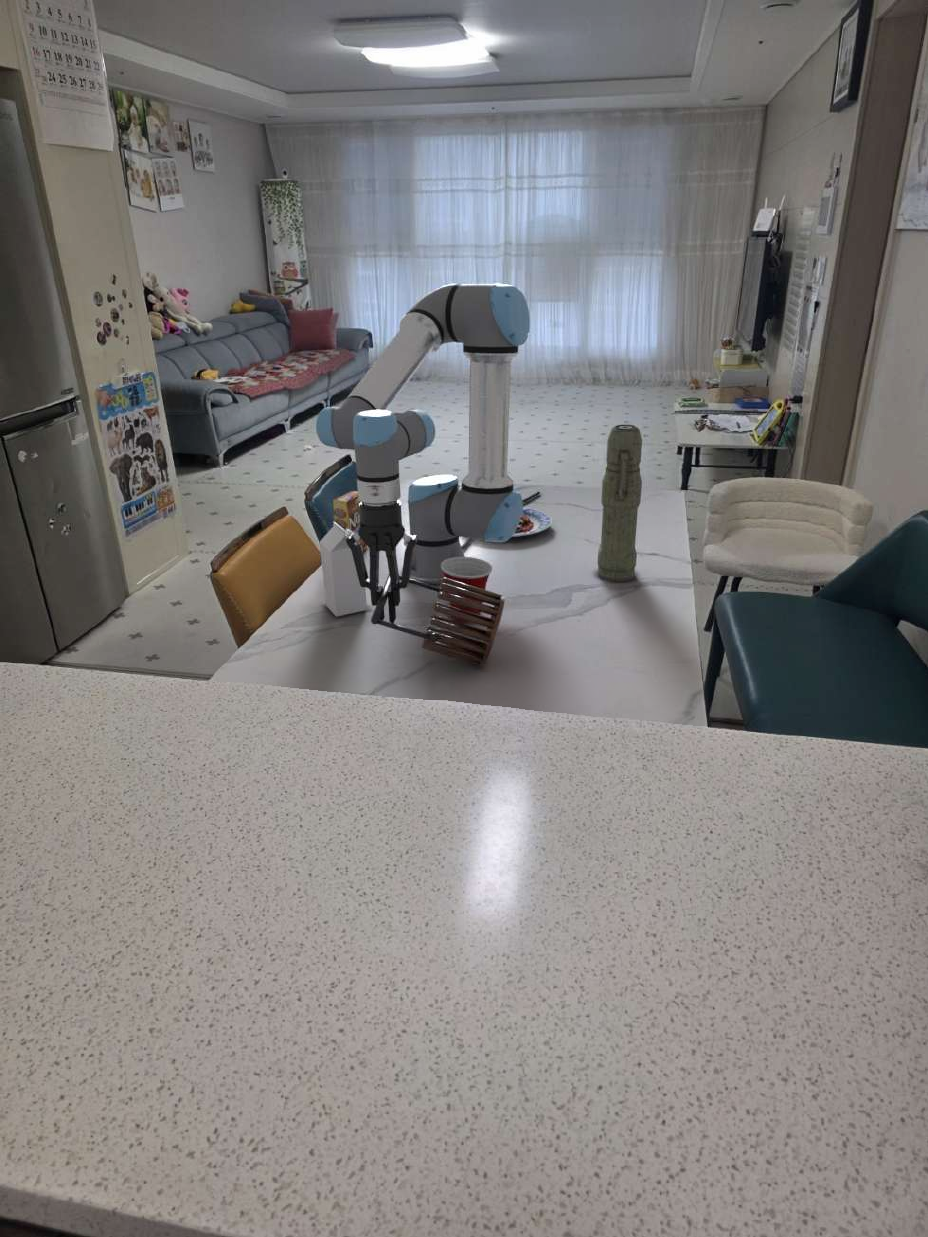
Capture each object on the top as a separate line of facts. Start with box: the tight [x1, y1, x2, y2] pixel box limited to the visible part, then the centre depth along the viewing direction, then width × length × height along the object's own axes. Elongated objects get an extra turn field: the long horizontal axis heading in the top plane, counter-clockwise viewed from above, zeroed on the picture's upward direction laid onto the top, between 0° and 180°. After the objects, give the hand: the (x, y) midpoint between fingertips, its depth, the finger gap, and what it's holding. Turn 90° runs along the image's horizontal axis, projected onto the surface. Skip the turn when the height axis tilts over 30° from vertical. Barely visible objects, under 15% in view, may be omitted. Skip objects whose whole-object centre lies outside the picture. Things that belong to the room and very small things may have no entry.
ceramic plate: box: [511, 507, 553, 538], centre depth 227 cm, size 26×26×3 cm
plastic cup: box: [441, 556, 493, 623], centre depth 173 cm, size 11×11×12 cm
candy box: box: [332, 490, 368, 551], centre depth 209 cm, size 9×4×15 cm, turn 155°
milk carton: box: [319, 520, 368, 618], centre depth 177 cm, size 7×7×19 cm
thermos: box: [597, 424, 643, 583], centre depth 188 cm, size 9×12×35 cm
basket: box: [370, 574, 506, 667], centre depth 153 cm, size 16×22×14 cm
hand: (387, 620), depth 156 cm, fingers closed on basket, 1 cm apart
